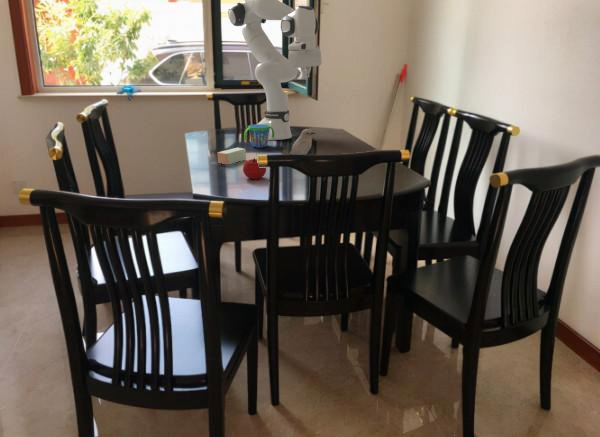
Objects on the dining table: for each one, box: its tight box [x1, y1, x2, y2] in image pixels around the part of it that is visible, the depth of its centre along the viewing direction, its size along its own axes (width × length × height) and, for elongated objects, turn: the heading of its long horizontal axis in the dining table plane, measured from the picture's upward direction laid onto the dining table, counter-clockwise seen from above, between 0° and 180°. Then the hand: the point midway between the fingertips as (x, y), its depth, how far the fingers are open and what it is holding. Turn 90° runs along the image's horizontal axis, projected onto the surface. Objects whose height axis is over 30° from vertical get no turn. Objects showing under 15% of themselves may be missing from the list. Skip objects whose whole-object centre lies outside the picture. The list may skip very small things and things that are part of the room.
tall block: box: [216, 147, 247, 166], centre depth 219 cm, size 5×5×12 cm
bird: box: [288, 128, 316, 155], centre depth 212 cm, size 5×14×15 cm, turn 63°
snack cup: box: [243, 123, 274, 149], centre depth 248 cm, size 16×10×10 cm
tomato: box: [242, 157, 267, 180], centre depth 193 cm, size 9×9×8 cm
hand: (305, 77), depth 231 cm, fingers closed
